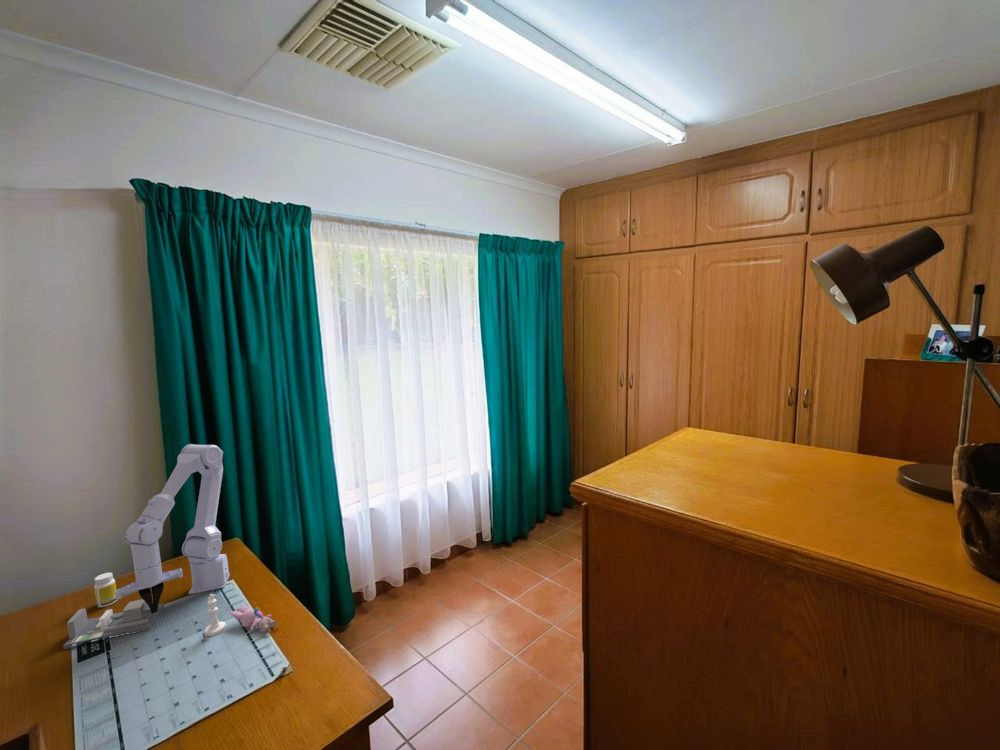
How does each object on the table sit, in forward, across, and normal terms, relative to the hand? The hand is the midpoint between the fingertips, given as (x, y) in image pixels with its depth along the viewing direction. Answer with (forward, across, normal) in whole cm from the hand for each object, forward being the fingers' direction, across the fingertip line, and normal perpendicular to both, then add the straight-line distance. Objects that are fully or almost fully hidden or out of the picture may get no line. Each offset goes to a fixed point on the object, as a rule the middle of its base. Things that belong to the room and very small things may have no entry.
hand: (154, 611), depth 124 cm
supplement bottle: (+2, +9, -20) cm, 22 cm away
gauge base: (+2, +8, -4) cm, 9 cm away
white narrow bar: (+1, +10, -3) cm, 11 cm away
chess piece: (+2, -10, +19) cm, 22 cm away
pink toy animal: (+2, -18, +25) cm, 31 cm away
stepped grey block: (+1, +5, -2) cm, 6 cm away
